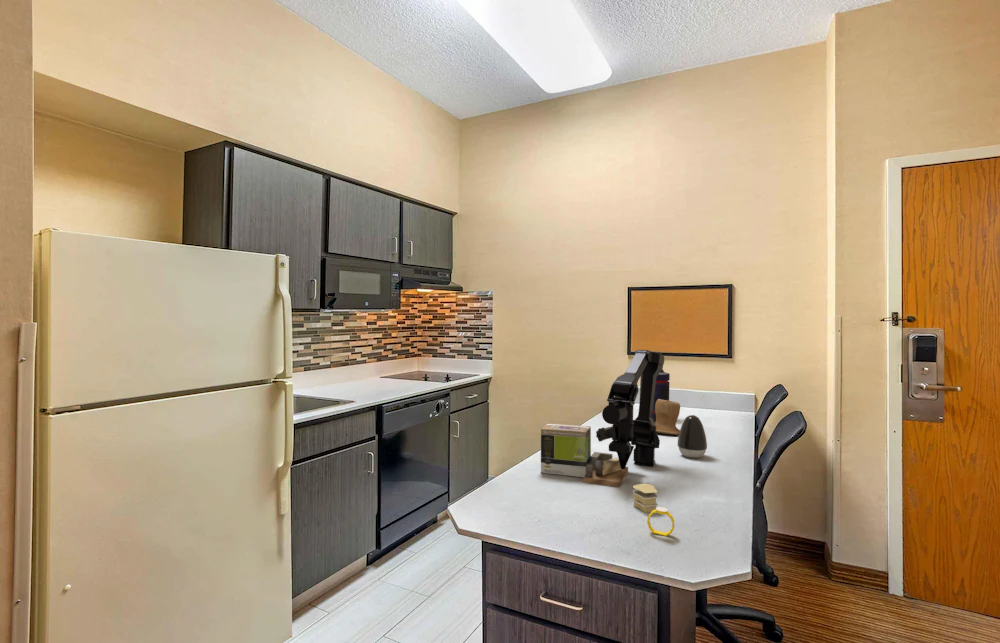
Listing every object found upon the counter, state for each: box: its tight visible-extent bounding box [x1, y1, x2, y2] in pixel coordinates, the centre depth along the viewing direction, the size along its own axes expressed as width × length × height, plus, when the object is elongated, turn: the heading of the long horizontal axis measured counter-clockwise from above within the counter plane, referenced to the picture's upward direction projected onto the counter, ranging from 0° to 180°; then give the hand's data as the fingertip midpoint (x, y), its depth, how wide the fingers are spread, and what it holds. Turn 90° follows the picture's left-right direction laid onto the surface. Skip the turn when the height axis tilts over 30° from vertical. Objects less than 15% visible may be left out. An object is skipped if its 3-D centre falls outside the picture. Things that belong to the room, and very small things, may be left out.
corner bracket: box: [590, 451, 614, 470], centre depth 165 cm, size 6×6×4 cm
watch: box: [646, 506, 676, 537], centre depth 118 cm, size 6×3×6 cm, turn 67°
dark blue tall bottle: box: [639, 365, 670, 423], centre depth 247 cm, size 14×12×30 cm
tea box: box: [540, 423, 592, 478], centre depth 165 cm, size 15×10×15 cm
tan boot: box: [654, 399, 681, 435], centre depth 223 cm, size 15×12×15 cm
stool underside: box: [583, 464, 629, 488], centre depth 160 cm, size 11×17×5 cm, turn 158°
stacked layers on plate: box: [632, 483, 659, 513], centre depth 135 cm, size 10×9×6 cm
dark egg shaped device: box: [677, 414, 708, 459], centre depth 185 cm, size 10×10×15 cm
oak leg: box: [596, 457, 622, 476], centre depth 160 cm, size 11×3×4 cm, turn 130°
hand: (622, 469), depth 159 cm, fingers closed
